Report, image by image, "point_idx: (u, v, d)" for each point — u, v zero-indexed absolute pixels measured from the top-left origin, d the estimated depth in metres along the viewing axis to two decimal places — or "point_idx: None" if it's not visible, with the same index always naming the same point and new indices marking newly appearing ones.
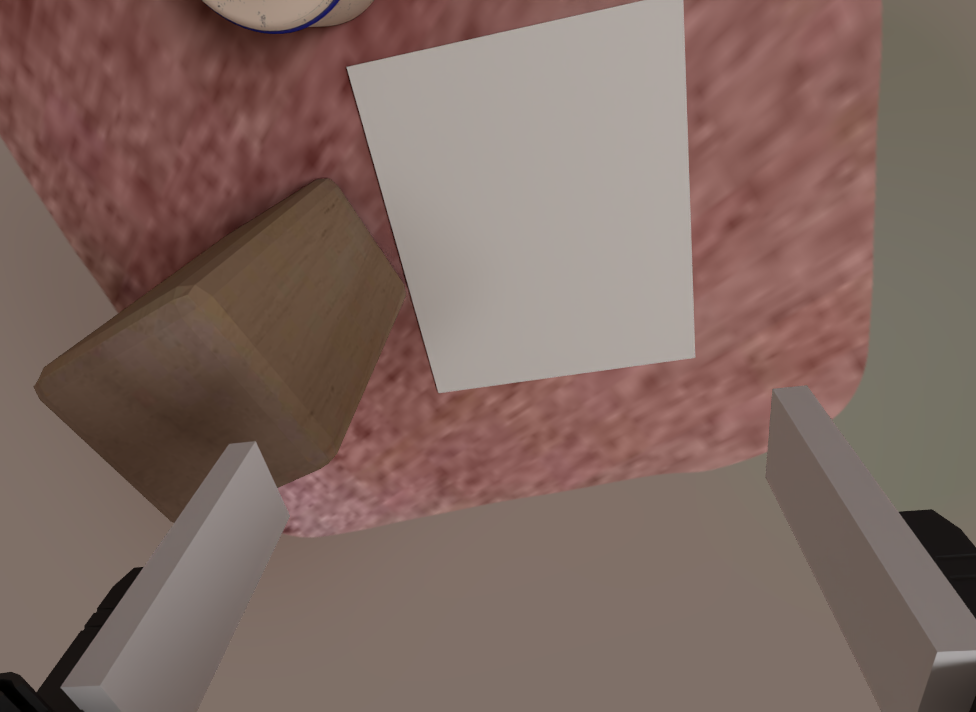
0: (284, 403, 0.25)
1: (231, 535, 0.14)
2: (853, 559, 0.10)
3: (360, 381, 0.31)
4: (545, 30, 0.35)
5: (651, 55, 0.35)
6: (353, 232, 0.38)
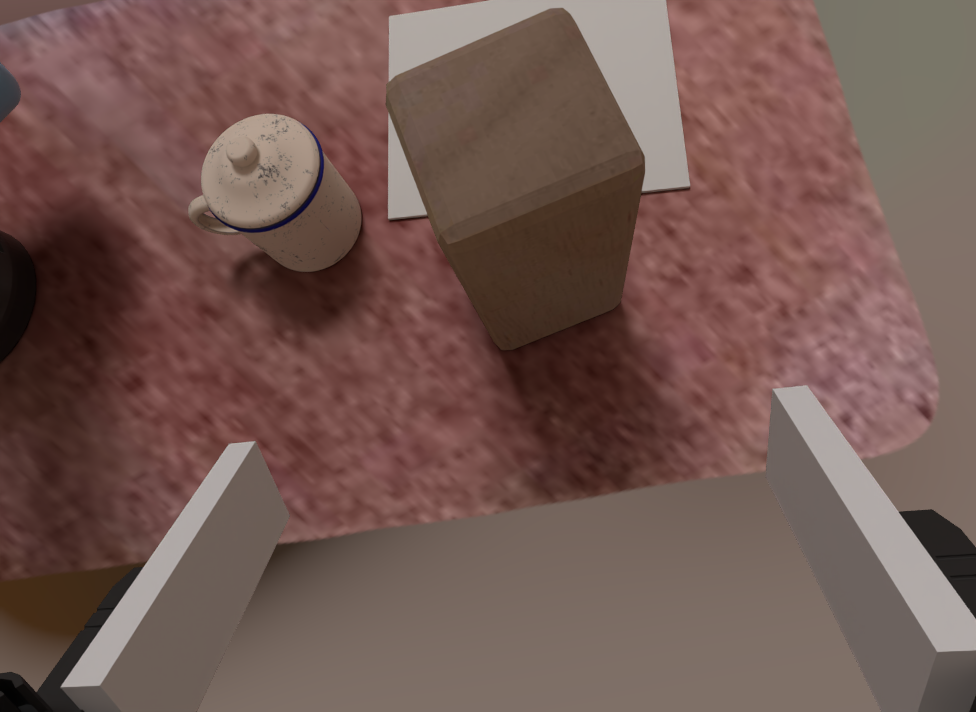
0: (495, 33, 0.28)
1: (231, 535, 0.14)
2: (853, 559, 0.10)
3: None
4: None
5: (420, 29, 0.53)
6: None
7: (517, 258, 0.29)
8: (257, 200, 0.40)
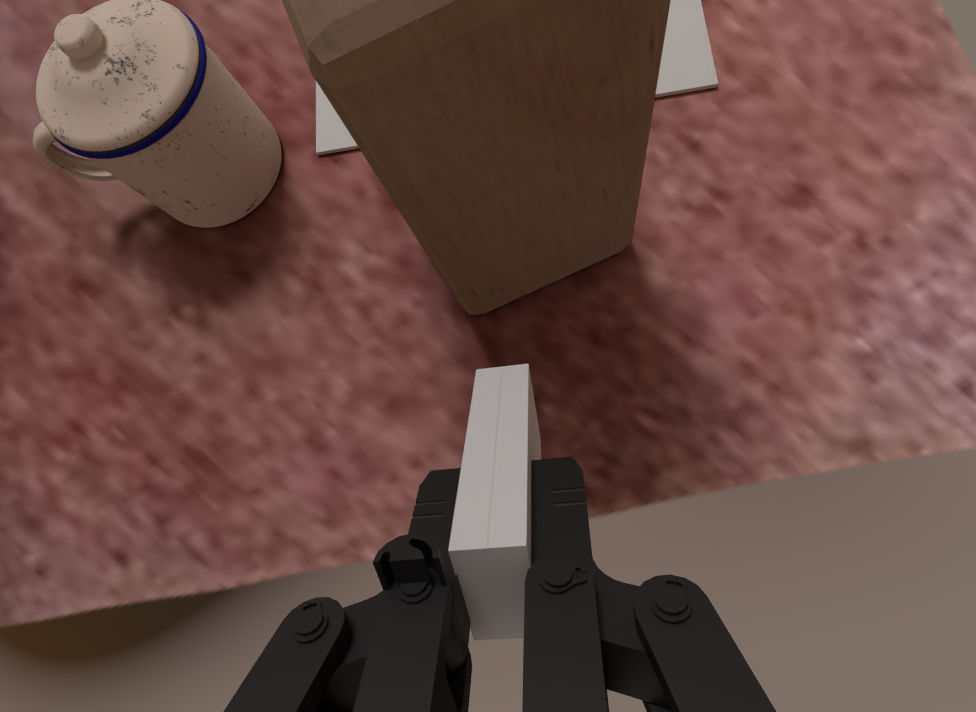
0: None
1: None
2: None
3: None
4: None
5: None
6: None
7: (464, 118, 0.17)
8: (106, 108, 0.28)
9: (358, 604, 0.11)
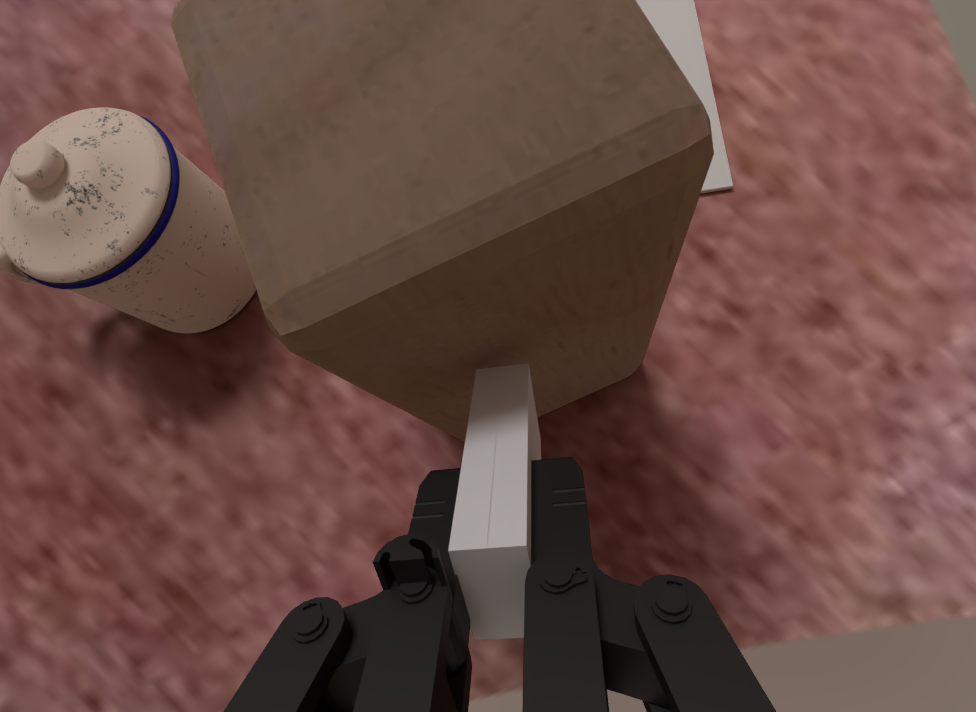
0: None
1: None
2: None
3: None
4: None
5: None
6: None
7: (453, 341, 0.15)
8: (69, 239, 0.26)
9: (358, 603, 0.11)
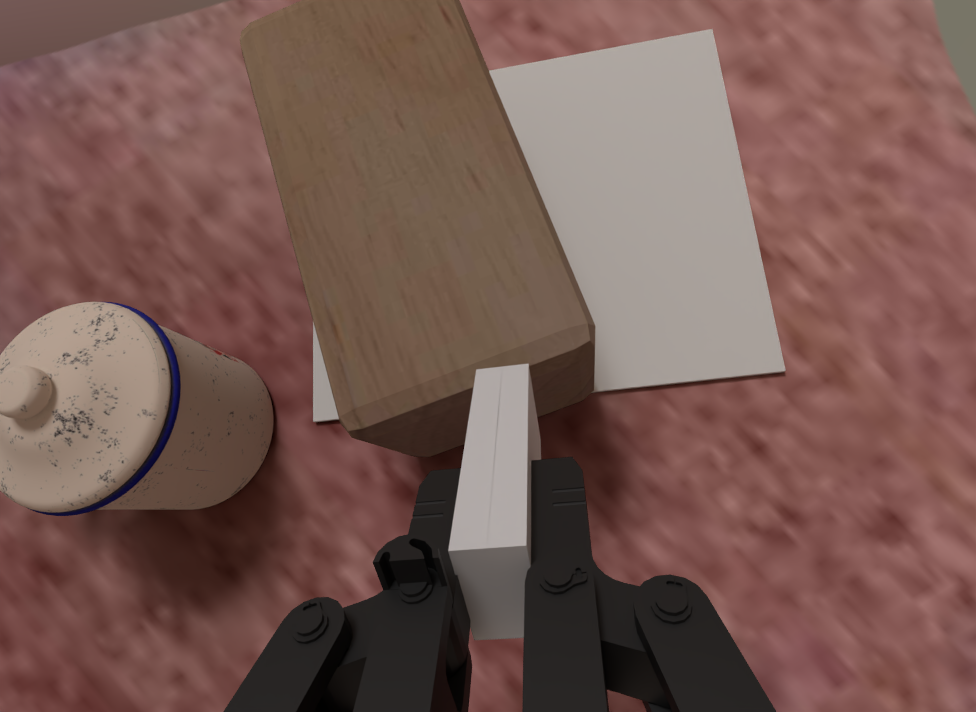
0: None
1: None
2: None
3: None
4: None
5: None
6: None
7: (310, 58, 0.25)
8: (57, 470, 0.23)
9: (358, 604, 0.11)
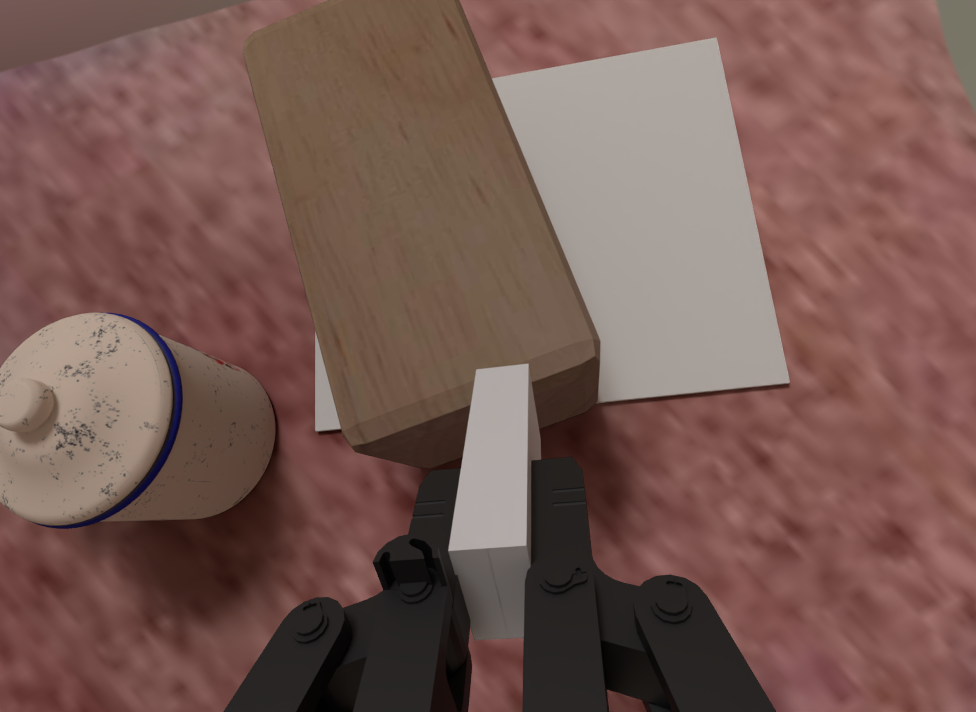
0: None
1: None
2: None
3: None
4: None
5: None
6: None
7: (314, 68, 0.25)
8: (58, 483, 0.23)
9: (358, 603, 0.11)
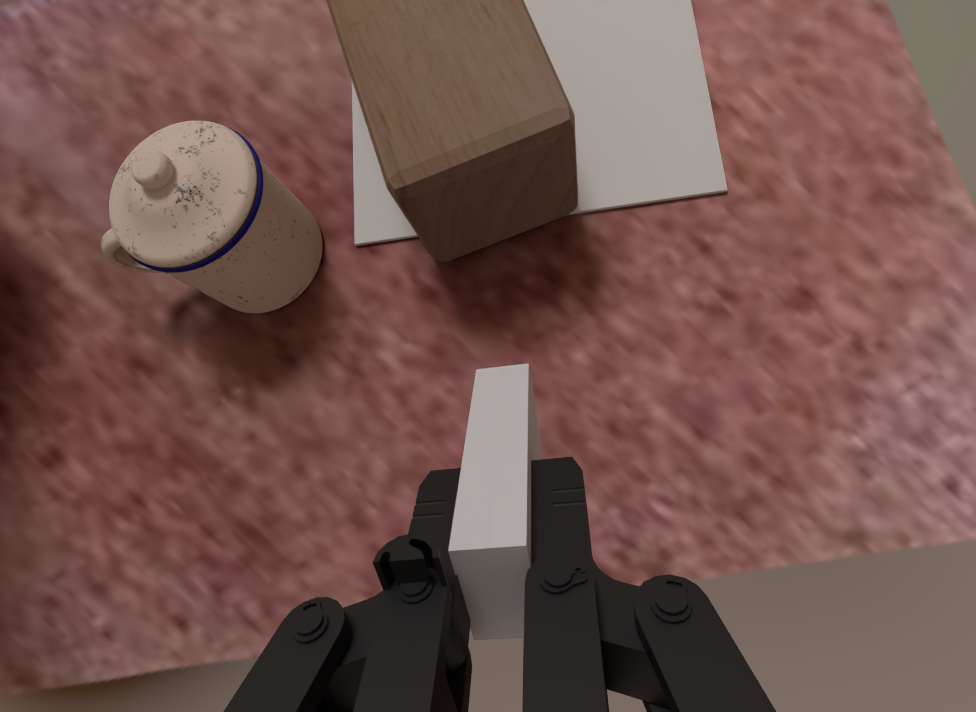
0: None
1: None
2: None
3: None
4: None
5: None
6: None
7: None
8: (176, 231, 0.31)
9: (358, 603, 0.11)
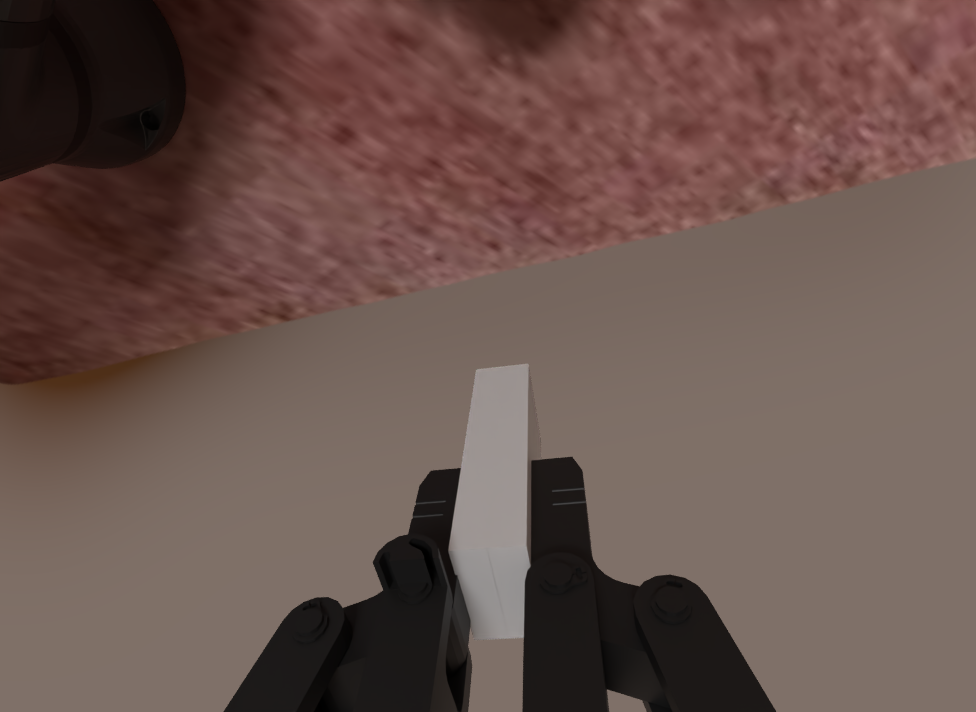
0: None
1: None
2: None
3: None
4: None
5: None
6: None
7: None
8: None
9: (358, 603, 0.11)
